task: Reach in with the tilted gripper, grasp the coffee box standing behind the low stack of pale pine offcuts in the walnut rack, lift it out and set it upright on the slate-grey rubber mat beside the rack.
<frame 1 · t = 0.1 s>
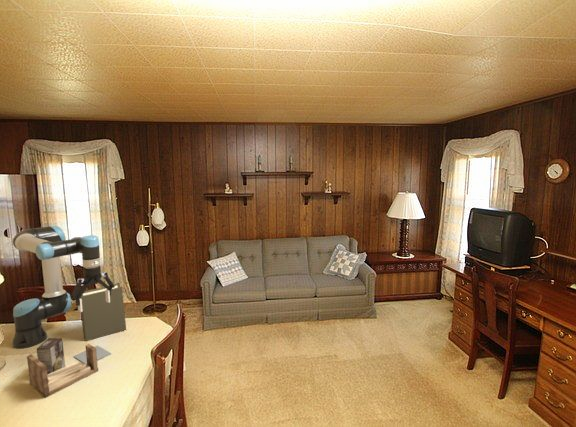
hand: (94, 306, 161), 28 cm above the table, fingers open, 13 cm apart
coffee box: (53, 374, 151), on the table
book: (104, 333, 189), on the table
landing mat: (92, 355, 166), on the table
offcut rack: (62, 375, 150), on the table
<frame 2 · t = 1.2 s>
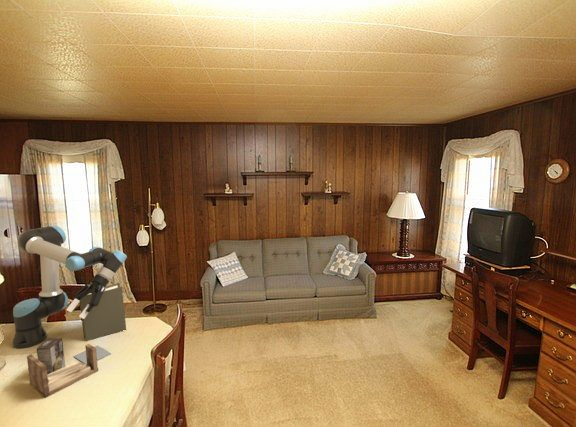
hand: (74, 314, 157), 26 cm above the table, fingers open, 13 cm apart
nothing on the table moved.
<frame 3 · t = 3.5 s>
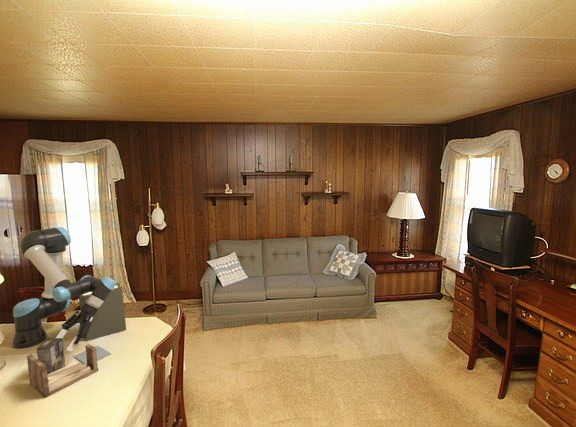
hand: (62, 346, 152), 12 cm above the table, fingers open, 13 cm apart
nothing on the table moved.
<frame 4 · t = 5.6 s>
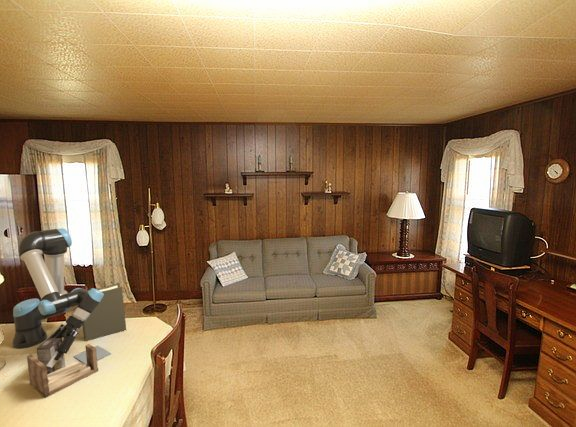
hand: (44, 362, 147), 7 cm above the table, fingers closed on coffee box, 10 cm apart
coffee box: (53, 374, 151), on the table, touching gripper
everything else where it was.
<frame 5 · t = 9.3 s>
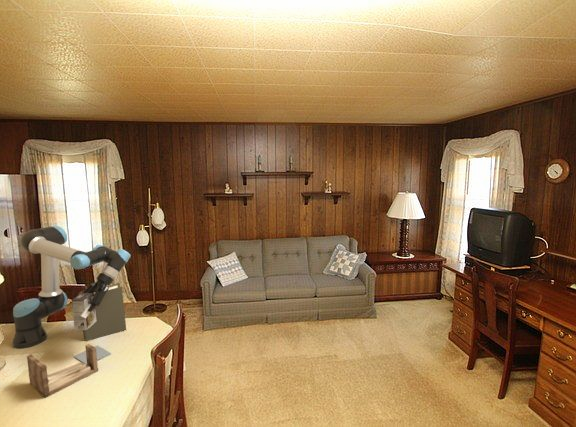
hand: (78, 314, 158), 25 cm above the table, fingers closed on coffee box, 10 cm apart
coffee box: (85, 326, 162), point 17 cm above the table, touching gripper
everything else where it was.
when the fingers open (9 cm above the table, at t = 13.0 s): coffee box drops 1 cm, resting on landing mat.
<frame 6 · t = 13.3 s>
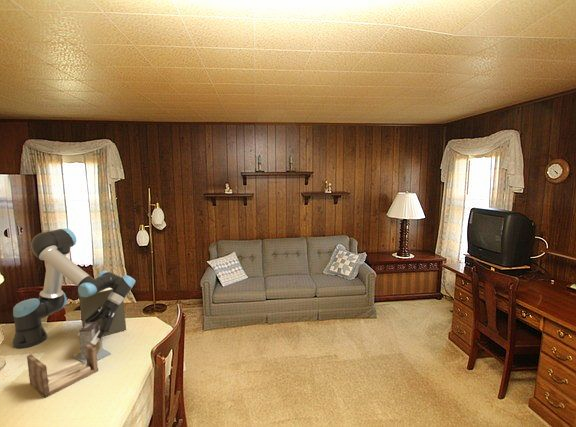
hand: (86, 340, 162), 10 cm above the table, fingers open, 13 cm apart
coffee box: (92, 354, 166), resting on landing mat
everything else where it was.
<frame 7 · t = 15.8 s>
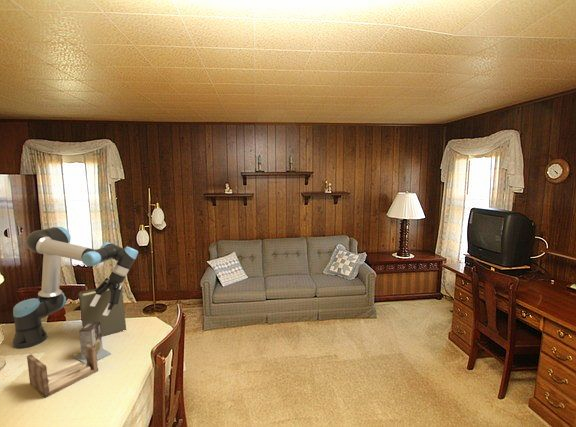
hand: (98, 310, 169), 22 cm above the table, fingers open, 13 cm apart
nothing on the table moved.
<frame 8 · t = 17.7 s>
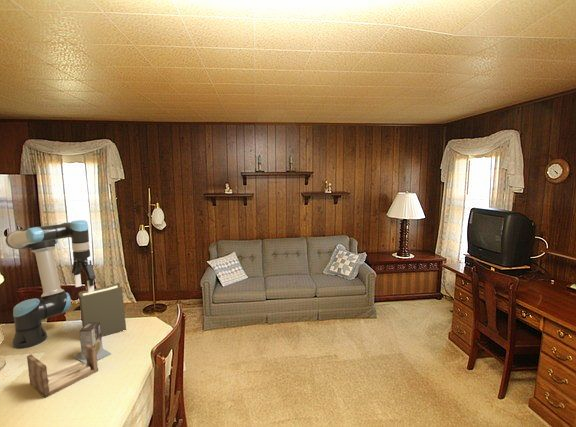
hand: (84, 289, 167), 35 cm above the table, fingers open, 13 cm apart
nothing on the table moved.
at the end: coffee box inside the target area on the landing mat (0.2 cm from its centre), point 0.4 cm above the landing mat's base; coffee box tilted 0°; the gripper is holding nothing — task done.
